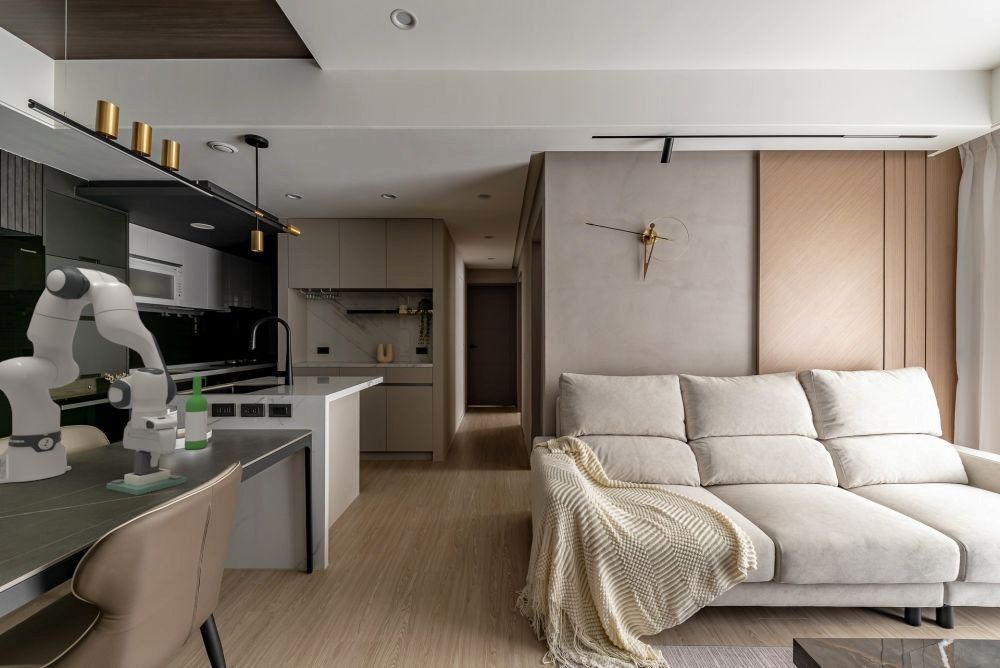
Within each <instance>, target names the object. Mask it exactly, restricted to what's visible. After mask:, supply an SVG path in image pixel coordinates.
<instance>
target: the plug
mask: <svg viewBox="0 0 1000 668" xmlns="http://www.w3.org/2000/svg"><path fill="white" fill-rule="evenodd" d="M133 457H134V459H133V473H134V475H137V476H143V475H148V474H152V473H156V472H159V468H160V458H159V459H158V465H157V466H155V467H150V466H149V461H150V460H151V457H152V456H151V452H145V451H140V452H136V451H135V452H134V455H133Z"/></svg>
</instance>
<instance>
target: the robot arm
mask: <svg viewBox="0 0 1000 668" xmlns="http://www.w3.org/2000/svg"><path fill="white" fill-rule="evenodd" d="M44 284H45V289H44V291H43V292H42V294H41V295H40V297H39V299H38V301H37V303H36V305H35V308H34V310H33V314H32V317H31V319H30V323H29V326H28V329H27V331H26V336H27V338H28V340H29V341H30V342H32V345H33V355H32V356H20V357H13V358H10V359H6V360H3V361H1V362H0V390H1V391H2V392H3V393H4V394H5V396H6V397H7V399H8V401H9V404H10V407H11V412H12V413H11V415H12V417H11V418H12V421H11V422H12V433H11V434H10V435H9V438H8V444H7V445H8V447H7V448H5V450H4V451H3V452H2V453H1V454H0V484H6V483H8V484H9V483H21V482H31V481H37V480H38V481H39V480H43V479H44V480H45V479H48V478H53V477H57V476H60V475H63V474H65V473H66V472H67V471H70V470H72V466H71V465H67V464H68V463H67V450H66V446H65V445H64V444H62V443H61V442H62V437H63V434H62V430H60V429H61V428H60V427H61V407H60V406H59V404H58V403H56V402H54V401H53V399H52V398H51V395H50V389H58V388H62V387H65V386H67V385H70V384H71V383H74V382H75V381H76V380H77V378H78V377H79V375H80V368H79V365H78V363H77V362H76V361H75V359H74V354H73V342H74V337H75V335H76V334H75V333H76V331H77V327H78V323H79V320H80V317H81V313H82V310H83V309H84V307H86V306H87V305H89V304H92V309H93V315H94V321H95V325H96V329H97V332H98V333H99V335H101V336H102V337H103V338H104V339H105V340H108V341H109V342H112V343H114V344H118V345H121V346H125V347H127V348H130V349H131V350H133V351H135V352H137V353H138V355H140V357H141V359H142V362H143V364H144V366H145V367H140V368H137V369H136V370H134V371H133V373H132V374H130V375H127V376H125V377H122V378H119V379H116V380H114V381H113V382H112V383H111V384H110V385H109V387H108V390H107V400H108V402H109V404H110V405H112V406H113V407H114V408H116V409H124V410H125V409H127V410H128V409H132V410H131V419H130V420H129V421H128V422H127V425H126V426H125V427H124V431H123V438H122V445H123V449H127V450H133V451H135V452H140V451H145V452H151V456H152V457H151V460H150V461H149V466H150V467H155V466H157V465H158V459H159V460H160V457H161V455H166V454H167V455H168V454H171V453H173V452H175V450H176V447H177V430H176V427H177V426H178V420H177V419H175V418H174V417H173V416H171V415H170V414H168V407H167V406H168V405H169V404H170V403H171V402H172V401H173V400H174V399H175V397H176V395H177V392H178V388H177V383H176V382H175V380H174V379H173V377H172V376H171V373H170V372H169V370H168V367H167V365H166V361H165V359H164V356H163V354H162V350H161V349H160V346H159V344H158V341H157V339H156V337H155V335H154V334H153V333H152V331H150V330H148V329H147V328H146V327H145V324H144V323H143V322H142V320H141V318H140V315H139V310H138V307H137V303H136V299H135V297H134V294H133V292H132V290H131V288H130V286H128V285H127V283H126V281H124V279H122V278H121V277H119V276H117V275H114V274H108V273H106V272H103V271H99V270H94V269H88V268H83V267H77V266H76V267H75V266H73V265H58V266H54V267H53V268H51V269H50V270H49V271H48V272H47V274H46V277H45V280H44Z"/></svg>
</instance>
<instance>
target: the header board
mask: <svg viewBox="0 0 1000 668" xmlns="http://www.w3.org/2000/svg"><path fill="white" fill-rule="evenodd" d="M123 475H124V479H122V478H121V479H119V478H118V479H115V480H112V481H110V482H108V483H106V489H108V490H113V491H115V492H116V491H117V492H121V493H126V494H131V495H134V496H135V495H136V496H141V495H144V494H148V493H151V491H152V492H154V491H158V490H162V489H165V488H171V487H173V486H177V485H181V484H185V483H187V477H186V476H183V475H178V474H177V475H175V474H171V469H166V468H162V467H161V468H160V467H159V472H156V473H152V474H148V475H143V476H137V475H134V472H131V473H125V474H123ZM147 492H148V493H147Z"/></svg>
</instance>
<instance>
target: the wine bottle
mask: <svg viewBox="0 0 1000 668" xmlns="http://www.w3.org/2000/svg"><path fill="white" fill-rule="evenodd" d="M202 377H203V376H202V375H194V376H193V377H192V379H193V380H192V395H191V396H190V397H189V398H188V399H187V400H186V402H185V412H184V413H185V415H184V419H185V420H184V449H186V450H188V451H190V450H192V451H193V450H200V449H202V450H203V449H204V448H206V447H207V444H208V443H207V441H208V400H207V398H206V397H205V396H203V395H202V382H203V381H202Z"/></svg>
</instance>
